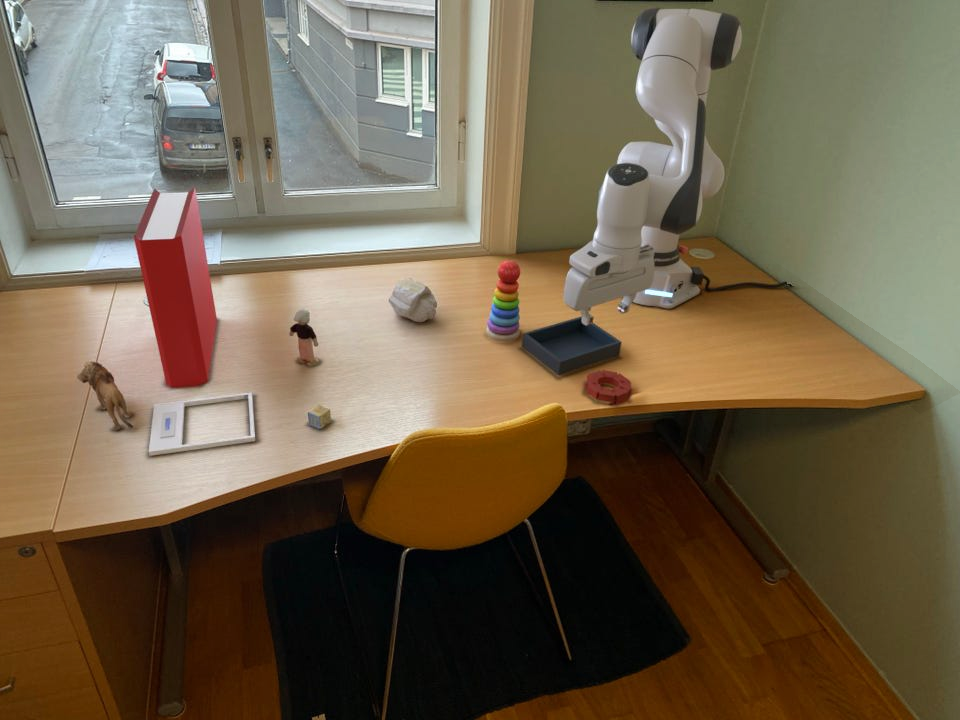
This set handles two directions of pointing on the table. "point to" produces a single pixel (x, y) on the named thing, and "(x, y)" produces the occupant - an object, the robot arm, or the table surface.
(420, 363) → the table surface
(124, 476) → the table surface
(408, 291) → the white rock
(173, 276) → the book
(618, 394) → the ring
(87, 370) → the lion figurine
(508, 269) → the stacking toy
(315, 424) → the alphabet block
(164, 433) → the photo frame
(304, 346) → the grandmother figurine
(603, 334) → the tray
